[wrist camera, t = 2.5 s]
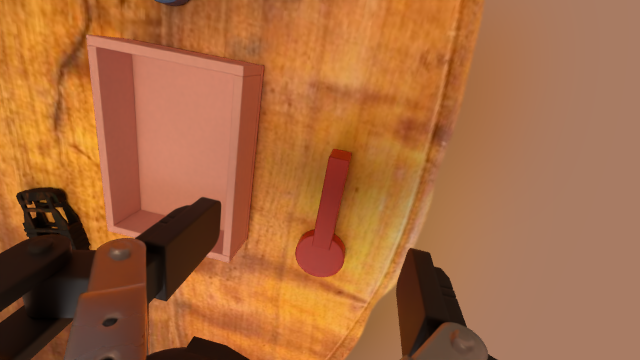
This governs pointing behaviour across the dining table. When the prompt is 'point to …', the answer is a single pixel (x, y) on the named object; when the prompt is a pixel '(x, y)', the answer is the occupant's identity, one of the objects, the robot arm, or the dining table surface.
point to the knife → (40, 224)
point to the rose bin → (174, 134)
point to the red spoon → (326, 223)
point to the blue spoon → (172, 2)
